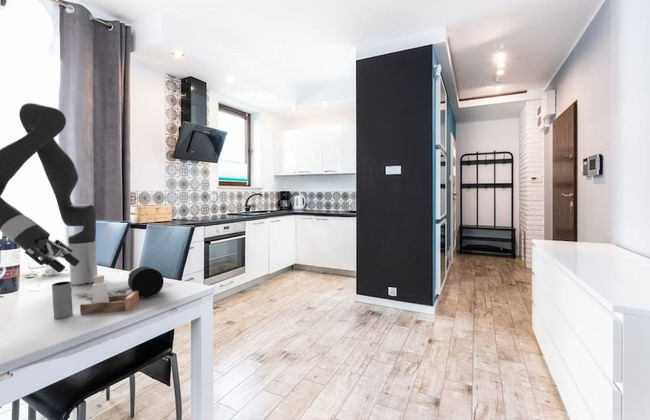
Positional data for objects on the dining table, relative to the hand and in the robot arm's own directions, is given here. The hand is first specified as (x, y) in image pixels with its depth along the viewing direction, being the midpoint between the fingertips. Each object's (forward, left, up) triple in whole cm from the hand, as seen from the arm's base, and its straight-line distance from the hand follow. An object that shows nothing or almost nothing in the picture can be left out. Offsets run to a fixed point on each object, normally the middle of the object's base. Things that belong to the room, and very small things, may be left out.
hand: (70, 267), depth 102 cm
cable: (-12, +23, -15) cm, 30 cm away
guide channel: (+5, +9, -14) cm, 18 cm away
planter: (+3, -3, -15) cm, 15 cm away
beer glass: (-67, -2, -15) cm, 69 cm away
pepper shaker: (+4, +7, -15) cm, 17 cm away
